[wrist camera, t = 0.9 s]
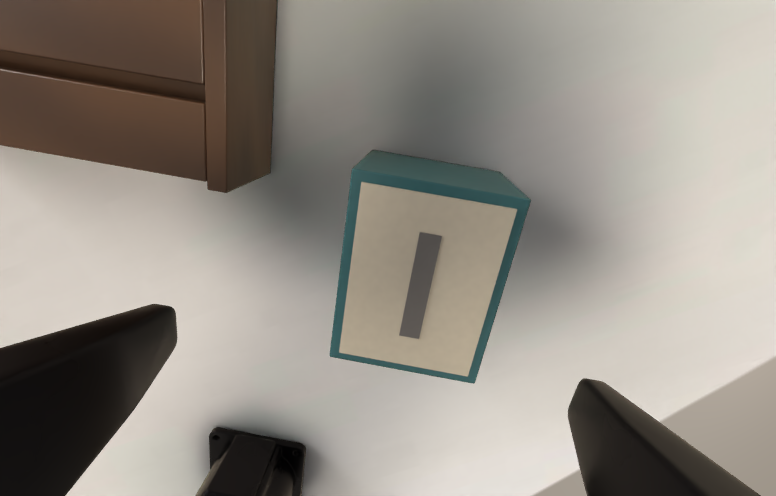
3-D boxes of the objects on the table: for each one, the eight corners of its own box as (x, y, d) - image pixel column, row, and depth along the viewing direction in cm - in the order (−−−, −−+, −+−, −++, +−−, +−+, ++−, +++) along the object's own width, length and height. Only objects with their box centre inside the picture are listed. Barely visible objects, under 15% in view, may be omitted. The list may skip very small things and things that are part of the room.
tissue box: (462, 315, 21) (475, 387, 15) (352, 294, 21) (328, 359, 16) (500, 171, 18) (533, 200, 12) (372, 149, 18) (351, 169, 13)
